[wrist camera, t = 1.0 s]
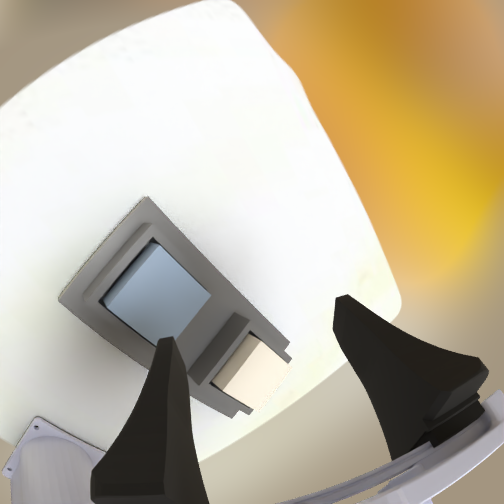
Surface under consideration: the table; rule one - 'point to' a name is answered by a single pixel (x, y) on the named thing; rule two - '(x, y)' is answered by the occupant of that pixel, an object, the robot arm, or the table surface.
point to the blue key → (156, 295)
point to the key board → (200, 327)
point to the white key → (252, 373)
